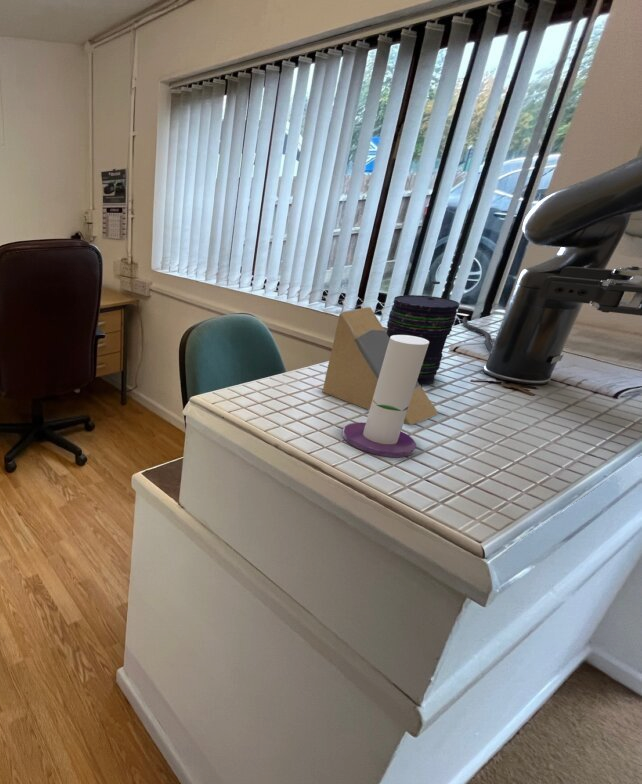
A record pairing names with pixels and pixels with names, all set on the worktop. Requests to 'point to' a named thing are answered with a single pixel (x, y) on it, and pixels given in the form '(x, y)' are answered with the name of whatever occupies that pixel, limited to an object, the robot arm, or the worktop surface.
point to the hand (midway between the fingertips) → (551, 281)
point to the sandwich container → (365, 364)
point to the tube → (395, 388)
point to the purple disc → (358, 440)
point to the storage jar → (424, 326)
